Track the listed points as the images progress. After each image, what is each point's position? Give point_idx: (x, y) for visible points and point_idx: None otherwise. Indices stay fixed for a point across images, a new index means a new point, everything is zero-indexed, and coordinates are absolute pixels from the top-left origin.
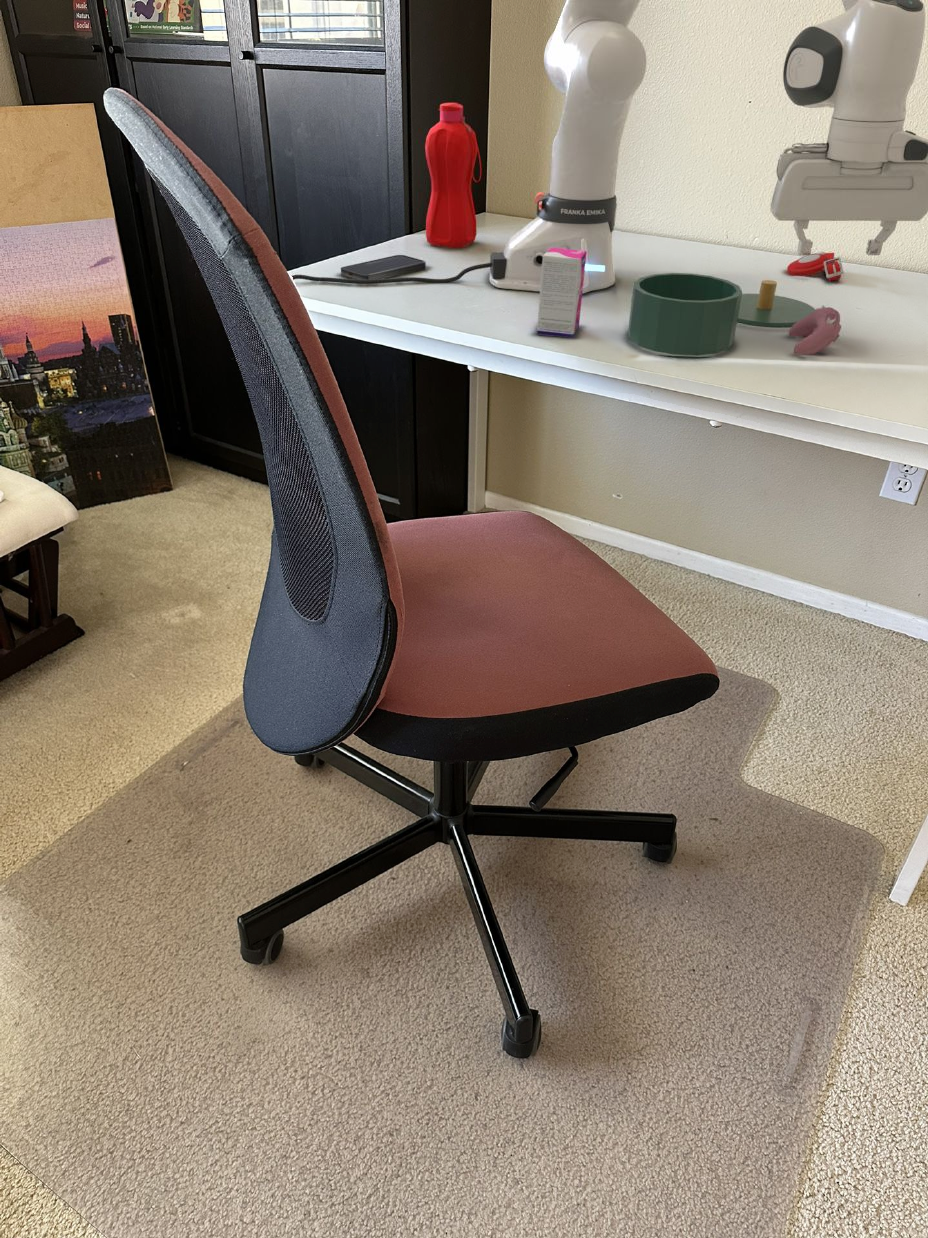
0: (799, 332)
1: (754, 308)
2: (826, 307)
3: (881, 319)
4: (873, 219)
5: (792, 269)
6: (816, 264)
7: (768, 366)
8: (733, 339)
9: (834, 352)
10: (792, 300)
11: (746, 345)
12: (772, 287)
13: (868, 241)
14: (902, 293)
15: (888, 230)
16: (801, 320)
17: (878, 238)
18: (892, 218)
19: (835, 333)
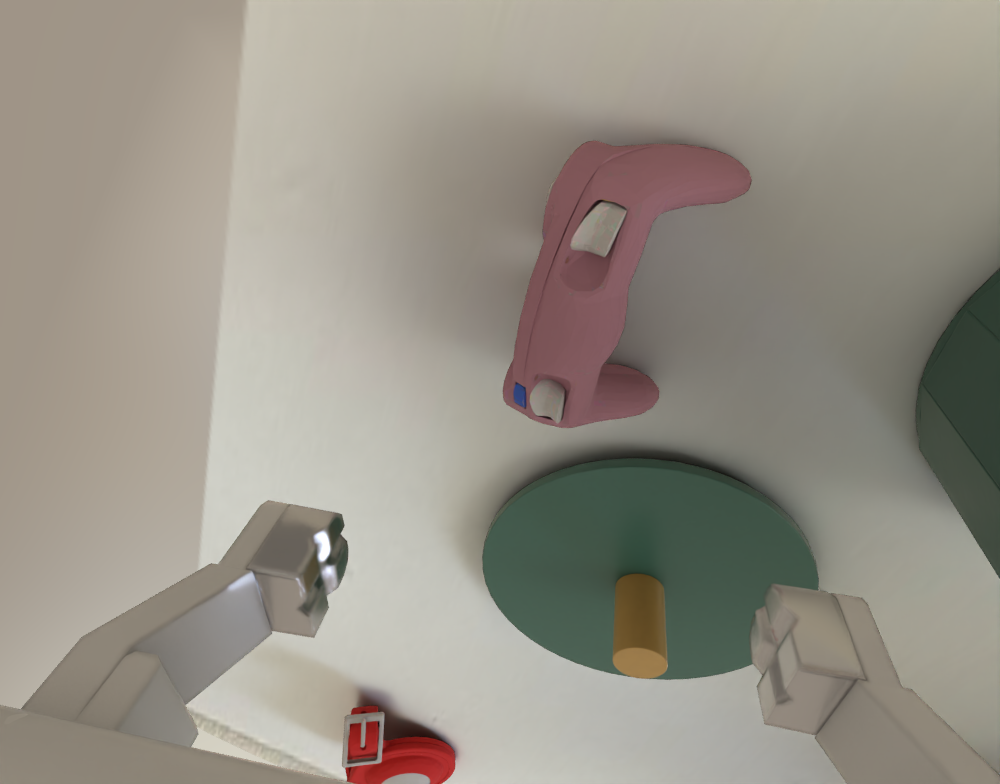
0: (628, 373)
1: (676, 586)
2: (564, 374)
3: (300, 501)
4: (235, 767)
5: (447, 761)
6: (396, 760)
7: (964, 12)
8: (985, 310)
9: (536, 224)
10: (525, 619)
11: (878, 316)
12: (636, 635)
13: (318, 620)
14: None
15: (139, 638)
16: (625, 408)
17: (244, 613)
18: (32, 736)
19: (588, 153)
